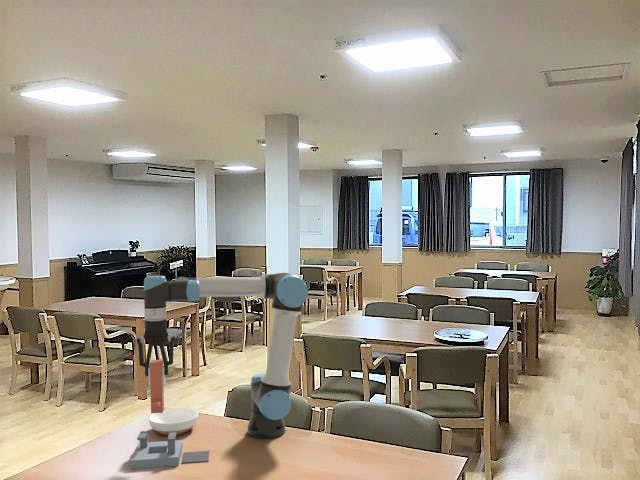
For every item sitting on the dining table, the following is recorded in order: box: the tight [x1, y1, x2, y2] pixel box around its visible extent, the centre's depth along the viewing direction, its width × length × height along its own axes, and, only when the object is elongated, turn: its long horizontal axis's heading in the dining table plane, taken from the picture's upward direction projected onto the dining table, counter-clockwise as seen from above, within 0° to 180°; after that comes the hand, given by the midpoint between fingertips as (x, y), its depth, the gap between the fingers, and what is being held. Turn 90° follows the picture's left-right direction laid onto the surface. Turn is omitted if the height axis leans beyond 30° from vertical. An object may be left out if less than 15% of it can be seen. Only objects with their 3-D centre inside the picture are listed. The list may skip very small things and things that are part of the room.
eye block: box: [130, 430, 184, 470], centre depth 204 cm, size 16×16×8 cm
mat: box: [181, 450, 210, 465], centre depth 204 cm, size 9×9×1 cm
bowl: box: [148, 407, 199, 436], centre depth 232 cm, size 20×20×6 cm
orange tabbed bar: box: [149, 359, 165, 414], centre depth 203 cm, size 12×4×18 cm, turn 9°
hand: (157, 384), depth 203 cm, fingers closed on orange tabbed bar, 4 cm apart
